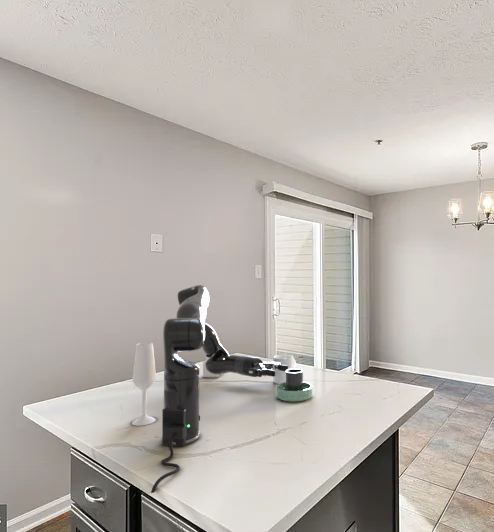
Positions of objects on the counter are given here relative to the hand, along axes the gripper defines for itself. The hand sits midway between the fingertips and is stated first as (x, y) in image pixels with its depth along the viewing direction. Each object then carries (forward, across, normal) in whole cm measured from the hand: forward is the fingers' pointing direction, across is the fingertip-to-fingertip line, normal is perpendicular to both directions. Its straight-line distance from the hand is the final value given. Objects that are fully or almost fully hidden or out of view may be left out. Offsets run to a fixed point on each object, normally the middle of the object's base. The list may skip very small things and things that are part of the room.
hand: (281, 370), depth 144 cm
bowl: (+6, 0, +9) cm, 11 cm away
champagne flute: (-22, -42, +9) cm, 49 cm away
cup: (+6, 0, +8) cm, 10 cm away
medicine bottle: (-43, +8, +9) cm, 44 cm away
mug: (-8, +16, +9) cm, 20 cm away
